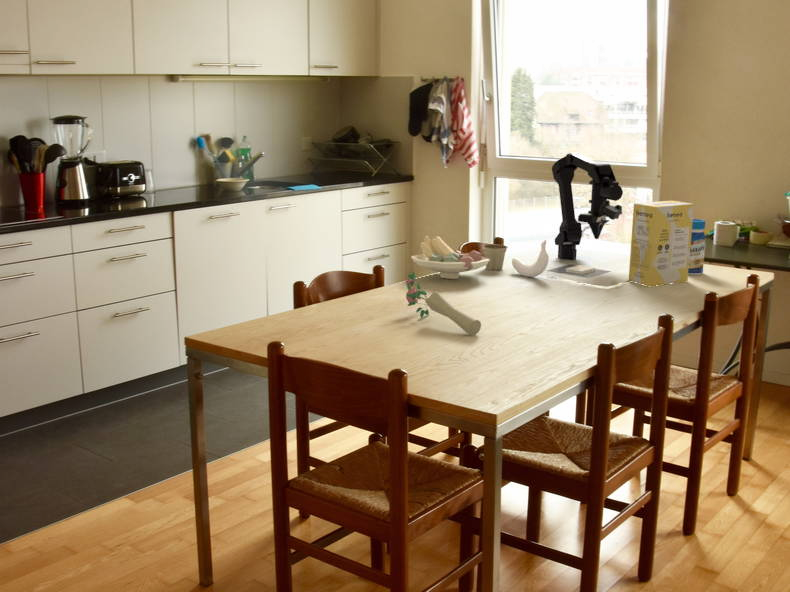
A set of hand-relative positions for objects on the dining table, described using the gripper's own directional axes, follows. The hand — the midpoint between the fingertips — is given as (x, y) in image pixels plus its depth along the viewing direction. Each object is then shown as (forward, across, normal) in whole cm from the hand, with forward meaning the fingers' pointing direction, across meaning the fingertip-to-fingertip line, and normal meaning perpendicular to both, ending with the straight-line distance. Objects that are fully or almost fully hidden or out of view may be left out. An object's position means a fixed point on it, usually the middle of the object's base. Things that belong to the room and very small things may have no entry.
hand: (596, 238), depth 332 cm
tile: (+10, -6, 0) cm, 12 cm away
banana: (+12, -28, +11) cm, 32 cm away
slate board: (+12, -10, +1) cm, 16 cm away
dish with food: (+12, -50, +29) cm, 60 cm away
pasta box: (+12, -2, -27) cm, 30 cm away
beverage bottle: (+12, +20, -29) cm, 37 cm away
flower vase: (+12, -100, -9) cm, 101 cm away
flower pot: (+12, -26, +28) cm, 40 cm away
